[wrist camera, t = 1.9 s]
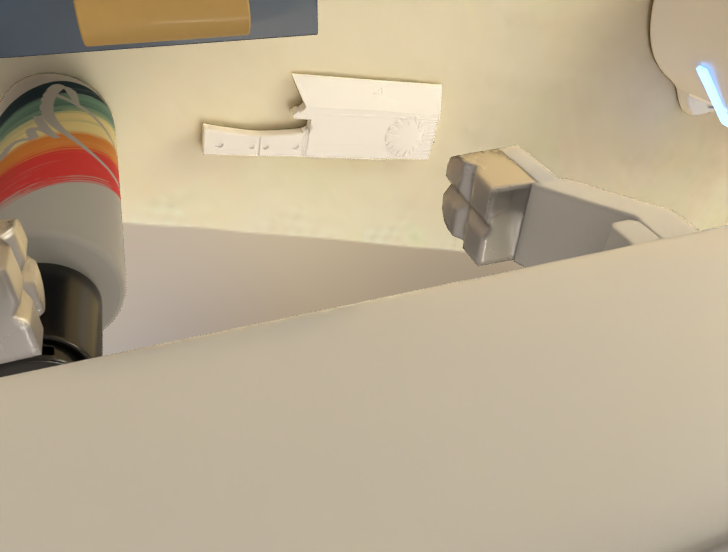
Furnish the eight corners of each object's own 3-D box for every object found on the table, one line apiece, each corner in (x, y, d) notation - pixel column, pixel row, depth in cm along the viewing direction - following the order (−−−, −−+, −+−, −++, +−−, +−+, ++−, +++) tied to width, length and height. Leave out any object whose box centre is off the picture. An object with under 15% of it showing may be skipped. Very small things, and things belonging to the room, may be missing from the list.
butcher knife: (204, 65, 34) (207, 72, 33) (440, 84, 40) (448, 90, 39) (201, 149, 37) (204, 158, 36) (422, 156, 42) (428, 163, 42)
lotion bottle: (114, 75, 33) (134, 319, 18) (116, 170, 36) (133, 442, 21) (-9, 64, 30) (-98, 332, 16) (5, 166, 34) (-59, 467, 19)
